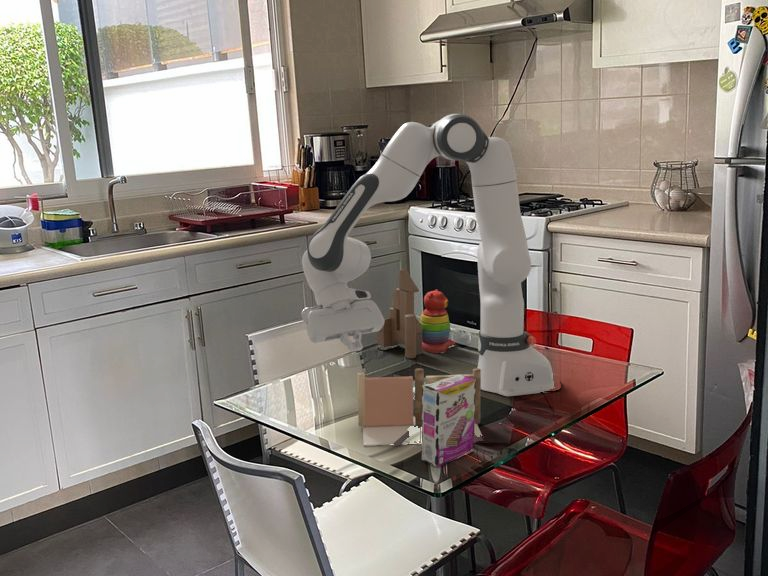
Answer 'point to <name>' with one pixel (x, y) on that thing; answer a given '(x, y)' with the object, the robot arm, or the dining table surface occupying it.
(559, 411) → the dining table surface
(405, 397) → the swing panel
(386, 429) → the card
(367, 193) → the robot arm
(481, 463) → the dining table surface
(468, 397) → the candy bar box
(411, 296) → the wooden toy
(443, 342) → the stacking bear
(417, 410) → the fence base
